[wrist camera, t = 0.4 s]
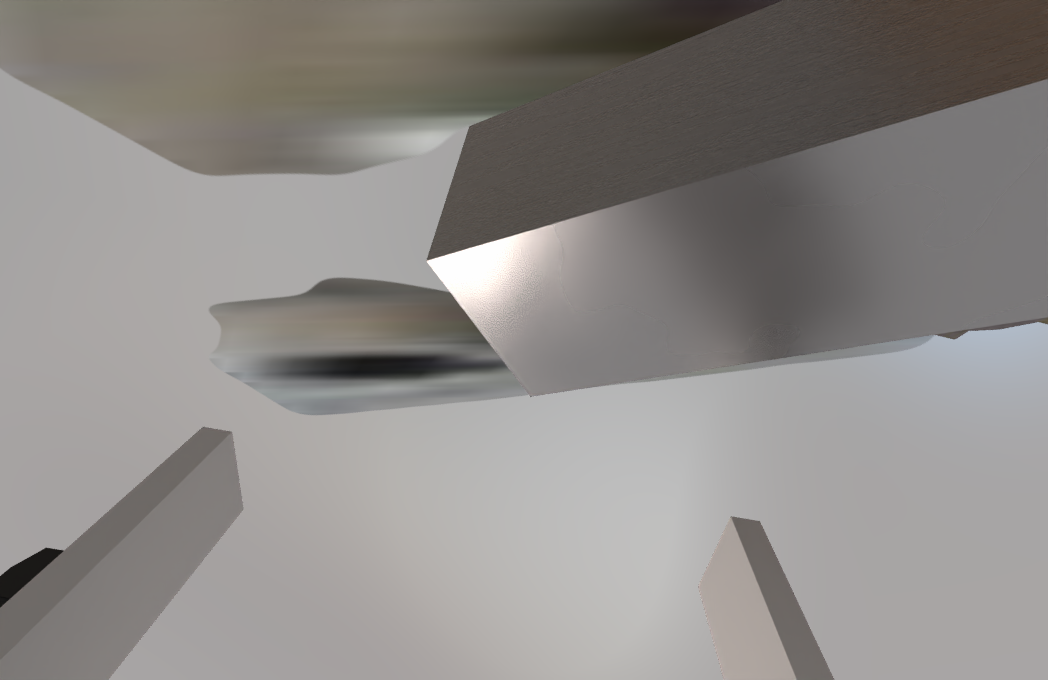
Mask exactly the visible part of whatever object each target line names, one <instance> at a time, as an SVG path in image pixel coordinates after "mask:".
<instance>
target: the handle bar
mask: <svg viewBox="0 0 1048 680" xmlns="http://www.w3.org/2000/svg"><path fill="white" fill-rule="evenodd" d="M427 262H428V264H429V265H430V266H431V267H432V269H433V270H434V272H435V273H436V274H437V275H438V277H439V278H440V279H441V281H442V282H443V283H444V285H445V286H446V287H447V288H448V290H449V291H450V292H451V294H452V295H453V296H454V298H455V299H456V300H457V301H458V303H459V304H460V305H461V307H462V308H463V309H464V311H465V312H466V313H467V315H468V316H469V317H470V318H471V320H472V321H473V322H474V324H475V325H476V326H477V328H478V329H479V330H480V331H481V333H482V334H483V335H484V337H485V338H486V339H487V341H488V342H489V343H490V344H491V346H492V347H493V348H494V350H495V351H496V352H497V354H498V355H499V356H500V357H501V359H502V360H503V361H504V363H505V364H506V365H507V367H508V368H509V369H510V371H511V372H512V373H513V374H514V376H515V377H516V378H517V380H518V381H519V382H520V384H521V385H522V386H523V387H524V389H525V390H526V391H527V393H528V394H529V395H530V397H531V396H538V395H544V394H550V393H557V392H564V391H570V390H577V389H583V388H590V387H596V386H603V385H609V384H616V383H623V382H629V381H636V380H642V379H649V378H655V377H662V376H668V375H675V374H681V373H688V372H694V371H701V370H707V369H714V368H720V367H727V366H733V365H740V364H746V363H753V362H759V361H766V360H772V359H779V358H785V357H792V356H798V355H805V354H811V353H818V352H824V351H831V350H837V349H844V348H850V347H857V346H863V345H870V344H876V343H883V342H889V341H896V340H903V339H909V338H916V337H922V336H929V335H935V334H942V333H948V332H955V331H961V330H968V329H974V328H981V327H987V326H994V325H1000V324H1007V323H1013V322H1020V321H1026V320H1033V319H1039V318H1046V317H1048V0H783V1H781V2H778V3H776V4H774V5H771V6H769V7H766V8H764V9H761V10H759V11H756V12H754V13H751V14H749V15H746V16H744V17H741V18H739V19H736V20H734V21H731V22H729V23H726V24H724V25H721V26H719V27H716V28H714V29H711V30H709V31H706V32H704V33H701V34H699V35H696V36H694V37H691V38H689V39H686V40H684V41H681V42H679V43H676V44H674V45H671V46H669V47H666V48H664V49H661V50H659V51H656V52H654V53H651V54H649V55H646V56H644V57H641V58H639V59H636V60H634V61H631V62H629V63H626V64H624V65H621V66H619V67H616V68H614V69H611V70H609V71H606V72H604V73H601V74H599V75H596V76H594V77H591V78H589V79H586V80H584V81H581V82H579V83H576V84H574V85H571V86H569V87H566V88H564V89H561V90H559V91H556V92H554V93H551V94H549V95H546V96H544V97H541V98H539V99H537V100H534V101H532V102H529V103H527V104H524V105H522V106H519V107H517V108H514V109H512V110H509V111H507V112H504V113H502V114H499V115H497V116H494V117H492V118H489V119H487V120H484V121H482V122H479V123H477V124H474V125H472V126H469V129H468V132H467V136H466V139H465V142H464V145H463V148H462V151H461V155H460V158H459V161H458V164H457V167H456V170H455V173H454V177H453V179H452V183H451V186H450V189H449V192H448V195H447V198H446V201H445V204H444V208H443V211H442V214H441V217H440V220H439V223H438V226H437V229H436V233H435V236H434V239H433V242H432V245H431V248H430V251H429V255H428V258H427Z"/></svg>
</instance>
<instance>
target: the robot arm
mask: <svg viewBox="0 0 1048 680" xmlns="http://www.w3.org/2000/svg"><path fill="white" fill-rule="evenodd" d="M242 510H243V504H242V496H241V490H240V483H239V476H238V470H237V462H236V456H235V449H234V442H233V435H232V432H230V431H223V430H218V429H212V428H206V427H203V428H201V429H200V430H199V431H198V432H197V433H196V434H195V435H193V436H192V437H191V438H190V439H189V440H188V441H187V442H186V443H184V444H183V445H182V446H181V447H180V448H179V449H178V450H177V451H175V452H174V453H173V454H172V455H171V456H170V457H169V458H168V459H167V460H165V461H164V462H163V463H162V464H161V465H160V466H159V467H158V468H156V469H155V470H154V471H153V472H152V473H151V474H150V475H149V476H147V477H146V478H145V479H144V480H143V481H142V482H141V483H140V484H139V485H137V486H136V487H135V488H134V489H133V490H132V491H131V492H129V493H128V494H127V495H126V496H125V497H124V498H123V499H122V500H121V501H119V502H118V503H117V504H116V505H115V506H114V507H113V508H112V509H110V510H109V511H108V512H107V513H106V514H105V515H104V516H103V517H101V518H100V519H99V520H98V521H97V522H96V523H95V524H94V525H92V526H91V527H90V528H89V529H88V530H87V531H86V532H85V533H83V535H81V536H80V537H79V538H78V539H77V540H76V541H75V542H73V543H72V544H71V545H70V546H69V547H68V548H67V549H66V550H65V551H63V550H57V549H51V548H45V549H43V550H41V551H40V552H38V553H36V554H34V555H32V556H31V557H29V558H27V559H25V560H23V561H22V562H20V563H18V564H16V565H14V566H13V567H11V568H10V569H8V570H7V571H6V572H5V573H4V574H2V575H1V576H0V680H108V679H109V678H110V677H111V676H112V674H113V673H114V672H115V671H116V669H117V668H118V667H119V666H120V664H121V663H122V662H123V661H124V659H125V658H126V657H127V656H128V654H129V653H130V652H131V650H132V649H133V648H134V647H135V645H136V644H137V643H138V642H139V640H140V639H141V638H142V636H143V635H144V634H145V633H146V631H147V630H148V629H149V628H150V626H151V625H152V624H153V623H154V621H155V620H156V619H157V618H158V616H159V615H160V614H161V613H162V611H163V610H164V609H165V607H166V606H167V605H168V604H169V602H170V601H171V600H172V599H173V598H174V596H175V595H176V594H177V592H178V591H179V590H180V589H181V587H182V586H183V585H184V584H185V582H186V581H187V580H188V579H189V577H190V576H191V575H192V573H193V572H194V571H195V570H196V569H197V567H198V566H199V565H200V563H201V562H202V561H203V560H204V558H205V557H206V556H207V555H208V553H209V552H210V551H211V550H212V548H213V547H214V546H215V544H216V543H217V542H218V541H219V540H220V538H221V537H222V536H223V534H224V533H225V532H226V531H227V529H228V528H229V527H230V526H231V524H232V523H233V522H234V521H235V519H236V518H237V517H238V516H239V514H240V513H241V512H242ZM698 588H699V592H700V595H701V599H702V603H703V606H704V610H705V613H706V617H707V621H708V624H709V628H710V632H711V635H712V639H713V642H714V646H715V649H716V653H717V657H718V660H719V664H720V668H721V671H722V674H723V678H724V680H834V678H833V676H832V674H831V672H830V670H829V668H828V665H827V663H826V661H825V659H824V657H823V655H822V653H821V651H820V648H819V646H818V644H817V642H816V640H815V638H814V636H813V634H812V632H811V629H810V627H809V625H808V623H807V621H806V619H805V617H804V614H803V612H802V610H801V608H800V606H799V604H798V602H797V600H796V597H795V595H794V593H793V591H792V589H791V587H790V584H789V582H788V580H787V578H786V576H785V574H784V572H783V570H782V567H781V566H780V563H779V561H778V559H777V557H776V555H775V552H774V550H773V548H772V546H771V544H770V542H769V540H768V538H767V536H766V533H765V531H764V529H763V527H762V525H761V523H760V521H755V520H749V519H743V518H737V517H730V519H729V521H728V523H727V525H726V528H725V530H724V532H723V534H722V536H721V538H720V541H719V543H718V545H717V547H716V549H715V551H714V553H713V555H712V558H711V560H710V562H709V564H708V566H707V568H706V571H705V573H704V575H703V577H702V579H701V581H700V583H699V586H698Z"/></svg>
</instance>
